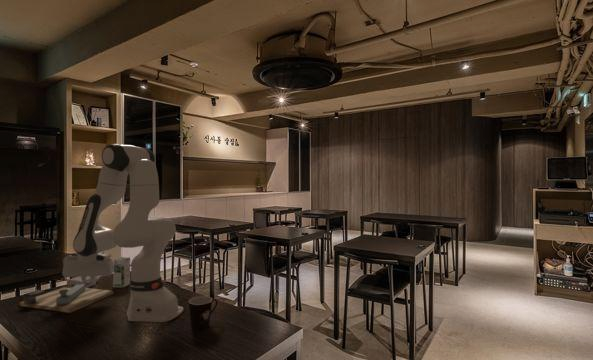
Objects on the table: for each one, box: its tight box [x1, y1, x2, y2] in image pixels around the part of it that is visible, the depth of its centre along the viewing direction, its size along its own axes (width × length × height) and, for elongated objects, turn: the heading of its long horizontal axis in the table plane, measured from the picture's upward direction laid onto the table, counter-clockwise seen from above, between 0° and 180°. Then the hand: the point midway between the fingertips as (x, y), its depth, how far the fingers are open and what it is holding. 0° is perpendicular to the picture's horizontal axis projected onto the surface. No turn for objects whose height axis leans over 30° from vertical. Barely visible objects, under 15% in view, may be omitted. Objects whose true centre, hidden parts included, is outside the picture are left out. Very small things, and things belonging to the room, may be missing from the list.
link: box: [56, 284, 86, 305], centre depth 150 cm, size 20×5×2 cm, turn 11°
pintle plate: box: [19, 285, 114, 314], centre depth 152 cm, size 27×24×7 cm
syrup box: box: [112, 256, 131, 289], centre depth 172 cm, size 6×6×14 cm
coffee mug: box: [188, 295, 218, 332], centre depth 127 cm, size 12×9×10 cm
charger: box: [66, 276, 101, 288], centre depth 173 cm, size 5×9×15 cm
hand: (88, 285), depth 152 cm, fingers closed
